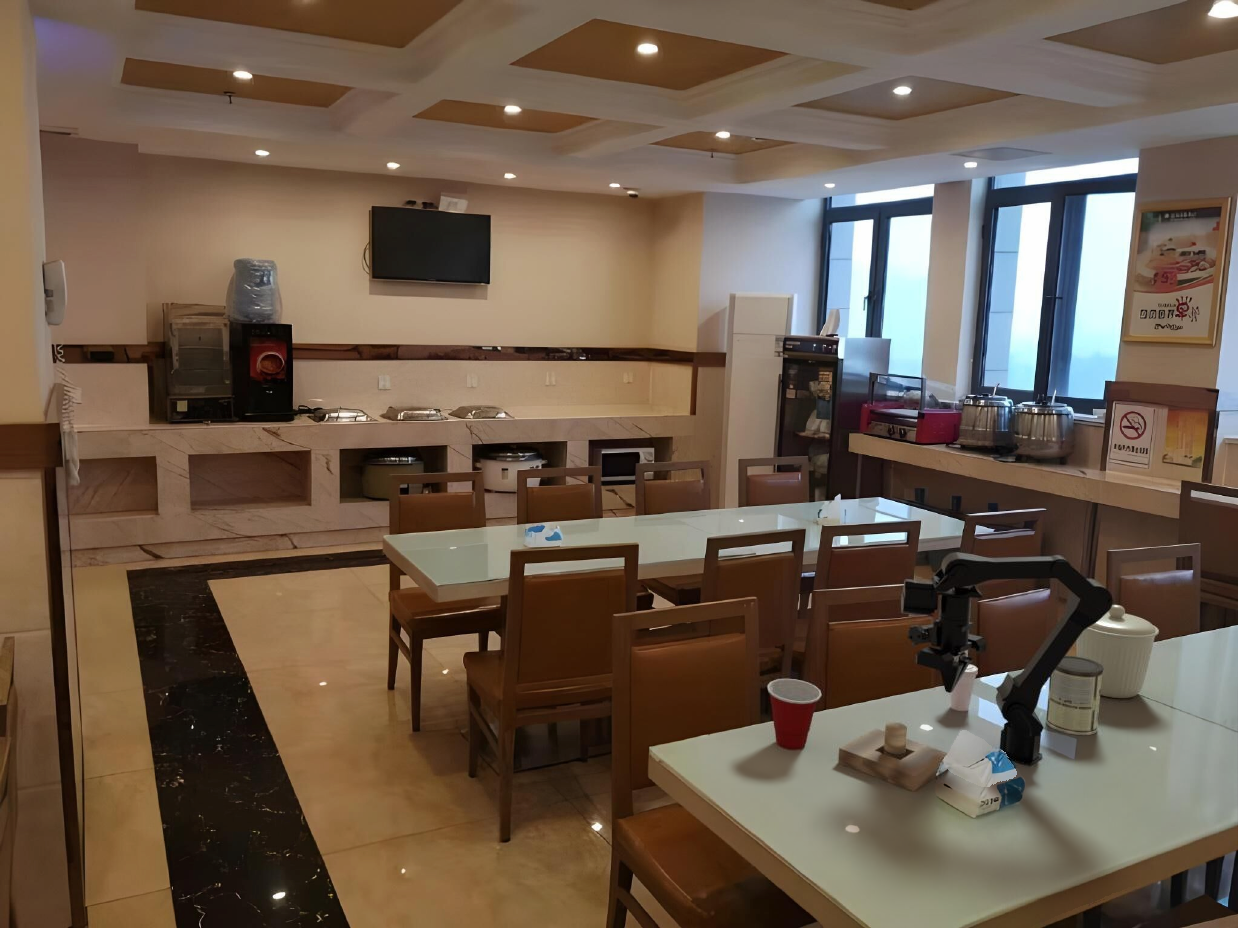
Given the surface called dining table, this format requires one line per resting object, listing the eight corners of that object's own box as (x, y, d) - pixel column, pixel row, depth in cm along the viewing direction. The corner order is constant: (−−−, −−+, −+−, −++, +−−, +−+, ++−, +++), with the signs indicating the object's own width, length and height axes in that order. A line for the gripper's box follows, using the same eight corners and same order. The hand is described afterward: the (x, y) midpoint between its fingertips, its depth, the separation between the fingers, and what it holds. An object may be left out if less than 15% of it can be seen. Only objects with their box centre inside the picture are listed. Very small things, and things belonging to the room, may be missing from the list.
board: (949, 768, 186) (950, 753, 185) (913, 791, 176) (914, 775, 176) (875, 742, 197) (876, 728, 197) (838, 762, 187) (839, 747, 187)
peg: (908, 765, 187) (911, 726, 186) (897, 772, 184) (900, 732, 183) (889, 758, 190) (891, 719, 188) (878, 764, 187) (880, 725, 186)
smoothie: (978, 714, 213) (983, 653, 212) (949, 713, 214) (954, 652, 212) (969, 702, 220) (973, 643, 218) (940, 702, 220) (945, 643, 218)
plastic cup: (787, 760, 188) (790, 701, 186) (753, 739, 197) (756, 683, 195) (830, 749, 193) (833, 692, 191) (795, 729, 202) (797, 675, 201)
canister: (1073, 699, 224) (1081, 611, 221) (1062, 673, 241) (1069, 591, 238) (1160, 709, 219) (1169, 620, 216) (1142, 682, 236) (1150, 599, 233)
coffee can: (1038, 715, 214) (1043, 654, 212) (1086, 717, 213) (1092, 656, 211) (1054, 733, 204) (1060, 670, 202) (1105, 737, 203) (1111, 672, 201)
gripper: (939, 599, 203) (933, 670, 205) (893, 616, 190) (888, 691, 192) (990, 611, 196) (984, 685, 198) (946, 629, 182) (941, 708, 185)
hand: (948, 691), depth 193 cm, fingers closed
